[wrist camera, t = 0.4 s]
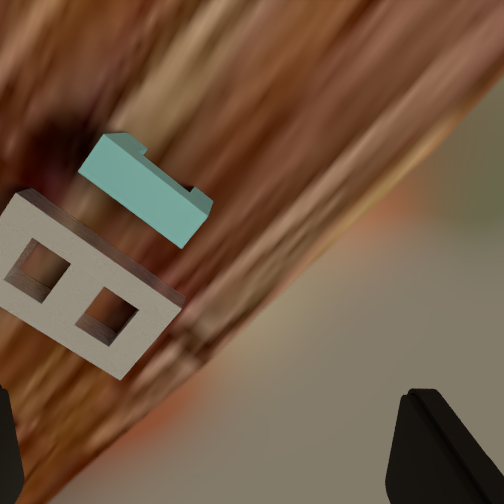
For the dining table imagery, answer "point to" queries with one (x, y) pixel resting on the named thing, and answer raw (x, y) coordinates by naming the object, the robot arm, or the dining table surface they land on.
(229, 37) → the dining table surface
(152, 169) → the teal notched block
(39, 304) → the grey rectangular frame
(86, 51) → the dining table surface
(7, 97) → the dining table surface
